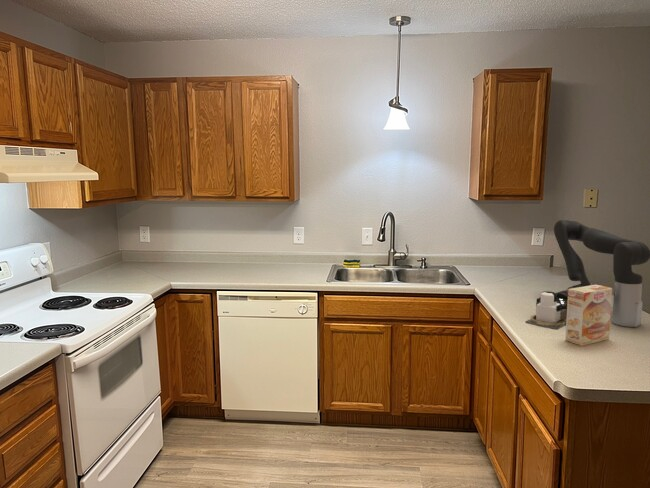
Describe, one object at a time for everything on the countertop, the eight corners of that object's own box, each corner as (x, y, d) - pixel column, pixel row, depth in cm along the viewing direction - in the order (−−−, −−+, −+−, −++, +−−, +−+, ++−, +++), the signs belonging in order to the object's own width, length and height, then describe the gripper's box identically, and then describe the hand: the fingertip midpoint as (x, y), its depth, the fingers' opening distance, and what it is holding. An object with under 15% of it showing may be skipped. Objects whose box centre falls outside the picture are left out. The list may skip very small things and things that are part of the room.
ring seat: (570, 322, 192) (570, 318, 192) (556, 329, 184) (556, 325, 184) (539, 316, 202) (539, 312, 201) (525, 322, 194) (525, 318, 193)
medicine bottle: (542, 317, 198) (543, 289, 196) (560, 320, 193) (561, 292, 191) (535, 321, 193) (536, 292, 191) (553, 324, 188) (554, 295, 186)
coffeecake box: (581, 346, 166) (584, 292, 163) (564, 340, 172) (566, 288, 170) (610, 339, 172) (613, 287, 169) (592, 333, 178) (595, 283, 175)
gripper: (548, 288, 207) (530, 295, 196) (582, 293, 196) (565, 301, 185) (547, 304, 208) (529, 312, 197) (582, 310, 197) (565, 319, 186)
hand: (547, 307), depth 191 cm, fingers closed on medicine bottle, 7 cm apart
